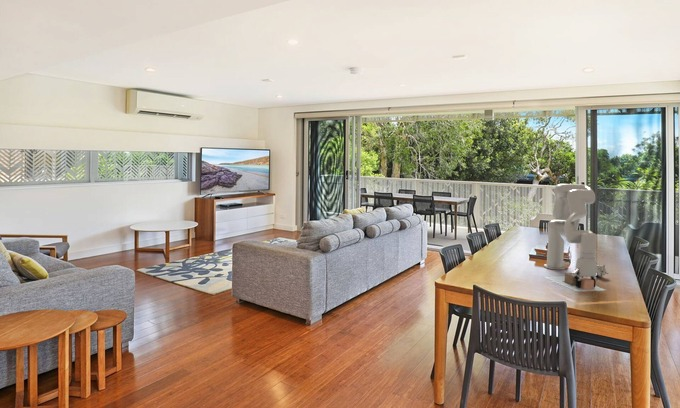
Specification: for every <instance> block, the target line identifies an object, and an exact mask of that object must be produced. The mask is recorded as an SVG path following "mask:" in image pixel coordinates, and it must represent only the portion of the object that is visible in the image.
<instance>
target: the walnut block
mask: <svg viewBox="0 0 680 408" xmlns="http://www.w3.org/2000/svg"><path fill="white" fill-rule="evenodd" d="M564 276H565V280H564V282H567V283H569V284H572V285H576V280H575V278H574V277H573V275H572V272H564ZM576 276H577V275H576ZM579 277H580V276H579ZM579 277H578V278H579ZM582 278H584V277H582Z"/></svg>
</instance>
